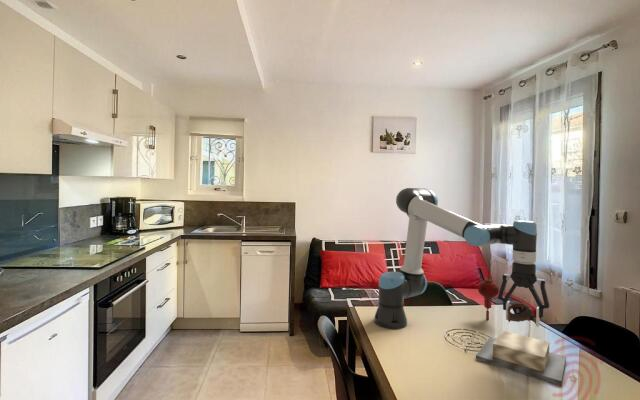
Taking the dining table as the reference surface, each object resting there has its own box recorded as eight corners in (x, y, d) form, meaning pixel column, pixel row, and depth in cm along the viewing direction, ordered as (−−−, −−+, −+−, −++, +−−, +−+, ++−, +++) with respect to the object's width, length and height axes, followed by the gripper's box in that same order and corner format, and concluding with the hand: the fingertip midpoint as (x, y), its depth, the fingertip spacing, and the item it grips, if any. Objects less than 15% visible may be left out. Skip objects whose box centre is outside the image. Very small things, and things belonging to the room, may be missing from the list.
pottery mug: (544, 329, 121) (537, 311, 119) (518, 338, 122) (510, 320, 121) (527, 309, 132) (520, 292, 130) (503, 318, 134) (496, 301, 132)
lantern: (490, 324, 161) (492, 261, 160) (472, 317, 169) (474, 258, 168) (502, 321, 165) (504, 260, 165) (484, 314, 174) (486, 257, 173)
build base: (475, 359, 126) (476, 342, 125) (490, 340, 143) (490, 325, 142) (561, 385, 109) (561, 365, 109) (565, 360, 126) (566, 343, 126)
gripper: (489, 259, 129) (488, 317, 130) (558, 268, 115) (556, 333, 116) (494, 257, 135) (492, 312, 135) (560, 264, 121) (558, 326, 122)
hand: (522, 322), depth 126 cm, fingers closed on pottery mug, 9 cm apart
